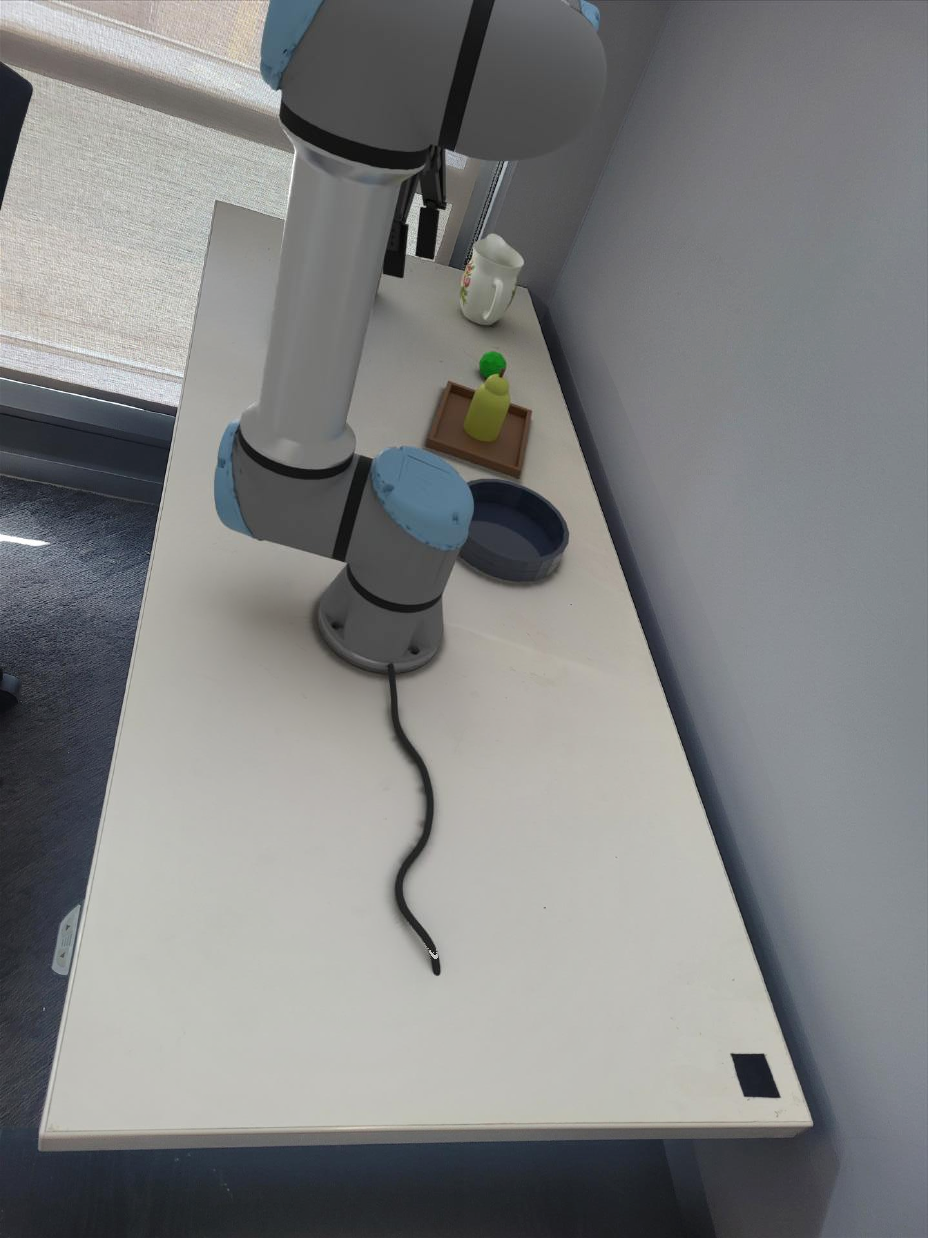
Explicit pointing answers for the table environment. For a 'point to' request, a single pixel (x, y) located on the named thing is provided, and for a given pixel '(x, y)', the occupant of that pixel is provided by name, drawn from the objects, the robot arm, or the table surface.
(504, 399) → the pear
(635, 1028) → the table surface
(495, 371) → the polyhedron
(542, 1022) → the table surface
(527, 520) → the bowl
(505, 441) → the tray
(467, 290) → the pitcher
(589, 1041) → the table surface
